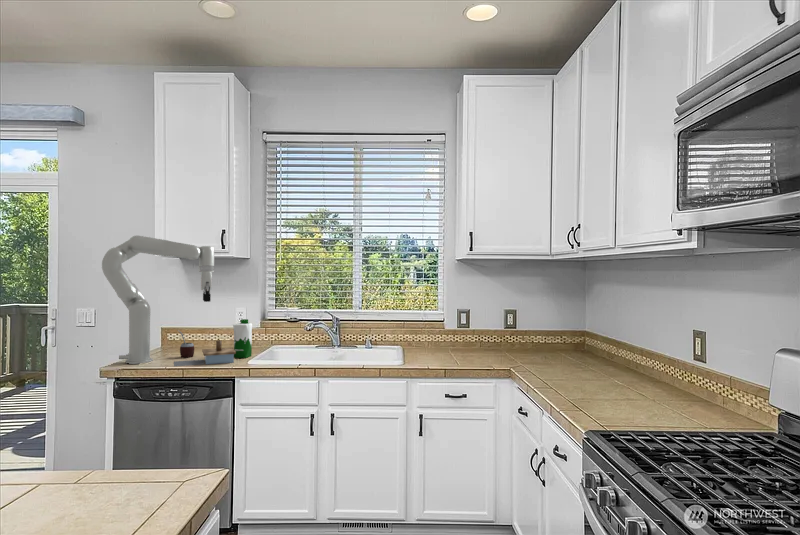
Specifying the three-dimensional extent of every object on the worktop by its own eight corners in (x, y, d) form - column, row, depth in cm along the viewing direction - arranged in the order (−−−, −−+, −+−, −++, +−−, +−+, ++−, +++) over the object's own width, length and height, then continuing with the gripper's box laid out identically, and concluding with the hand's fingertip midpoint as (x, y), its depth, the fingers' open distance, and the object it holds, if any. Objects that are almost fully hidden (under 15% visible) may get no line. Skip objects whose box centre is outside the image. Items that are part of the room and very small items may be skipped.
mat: (173, 367, 247) (173, 366, 247) (173, 362, 260) (173, 361, 260) (204, 365, 253) (204, 364, 253) (203, 360, 265) (203, 359, 265)
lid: (203, 355, 251) (203, 343, 251) (202, 351, 265) (202, 339, 265) (235, 353, 257) (235, 341, 257) (232, 349, 271) (232, 338, 271)
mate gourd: (195, 358, 271) (195, 330, 271) (179, 360, 267) (179, 331, 267) (192, 356, 278) (193, 329, 278) (177, 358, 273) (177, 329, 273)
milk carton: (253, 355, 281) (253, 319, 281) (246, 358, 272) (246, 321, 272) (238, 355, 282) (238, 319, 282) (231, 358, 273) (231, 320, 273)
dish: (206, 365, 252) (206, 355, 252) (204, 361, 264) (204, 351, 264) (233, 363, 258) (233, 353, 258) (231, 359, 270) (231, 349, 270)
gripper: (198, 269, 282) (198, 300, 282) (200, 269, 266) (199, 302, 266) (213, 269, 285) (212, 300, 285) (215, 269, 269) (215, 301, 269)
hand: (206, 301), depth 275 cm, fingers open, 9 cm apart
